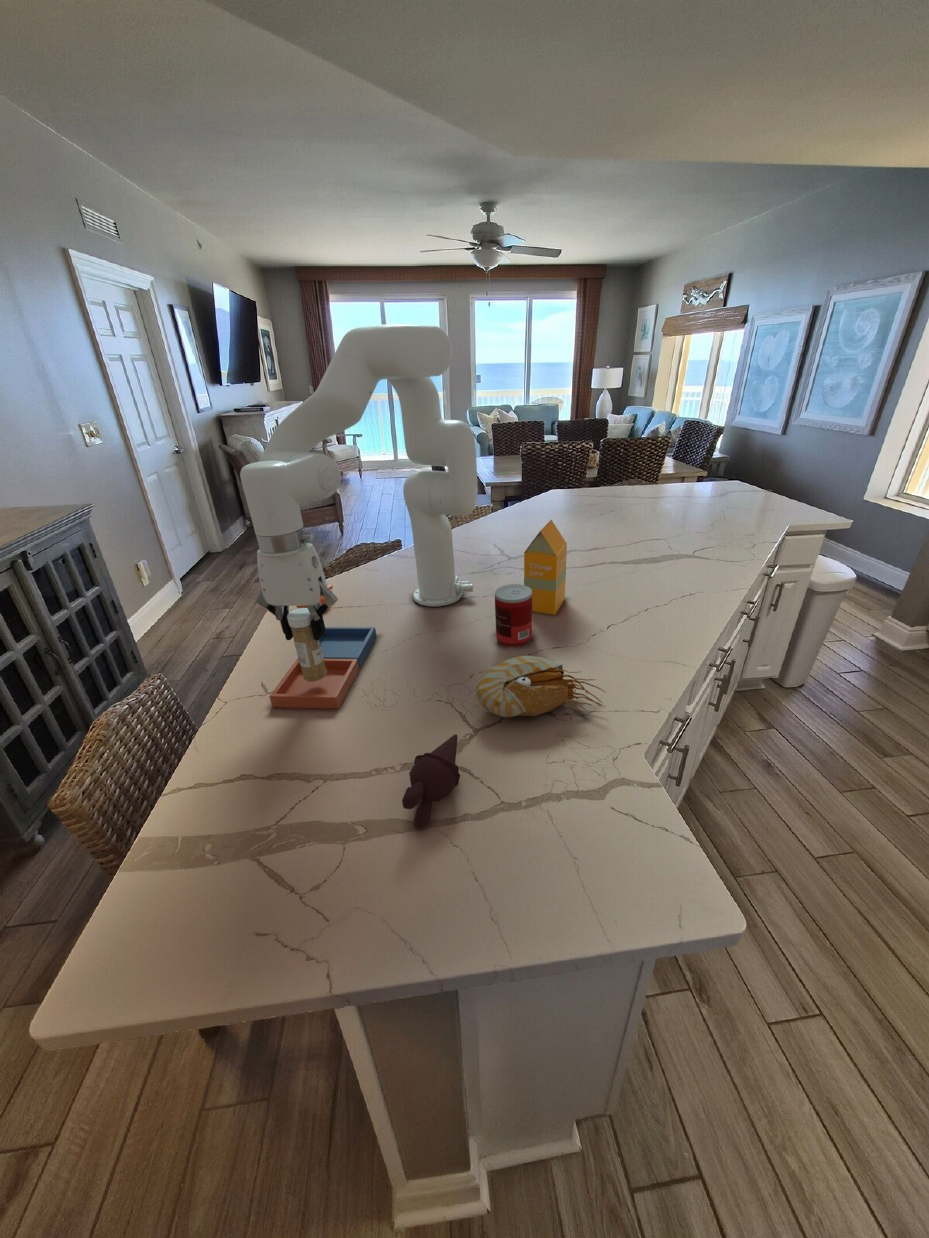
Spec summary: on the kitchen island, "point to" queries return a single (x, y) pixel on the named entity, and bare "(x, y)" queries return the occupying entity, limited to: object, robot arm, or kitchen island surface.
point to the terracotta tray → (316, 686)
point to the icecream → (432, 780)
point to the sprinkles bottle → (306, 645)
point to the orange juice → (546, 569)
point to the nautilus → (528, 687)
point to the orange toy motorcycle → (320, 597)
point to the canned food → (513, 614)
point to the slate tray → (347, 642)
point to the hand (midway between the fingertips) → (305, 635)
